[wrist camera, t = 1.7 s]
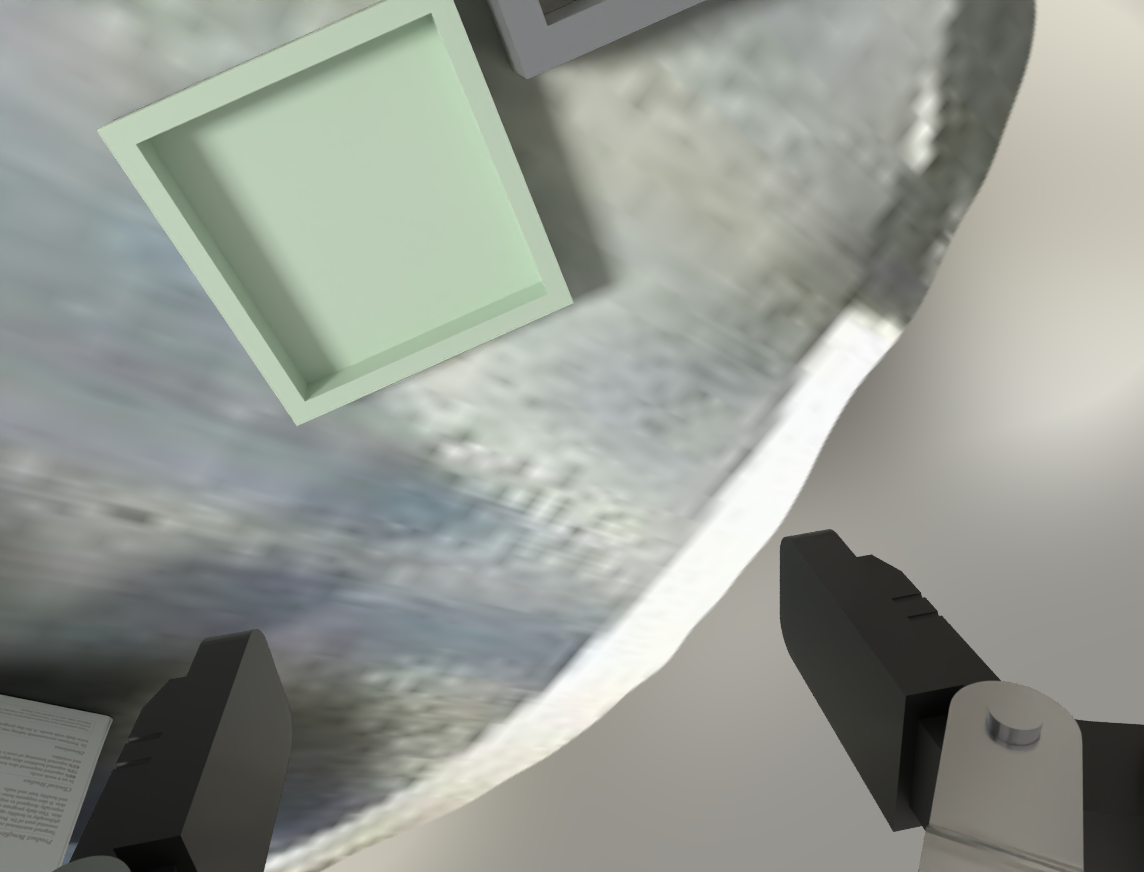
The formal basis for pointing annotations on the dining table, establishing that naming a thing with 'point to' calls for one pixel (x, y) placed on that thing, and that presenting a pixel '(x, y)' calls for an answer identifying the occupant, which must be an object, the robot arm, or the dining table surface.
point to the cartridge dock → (570, 28)
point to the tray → (348, 203)
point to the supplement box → (43, 779)
